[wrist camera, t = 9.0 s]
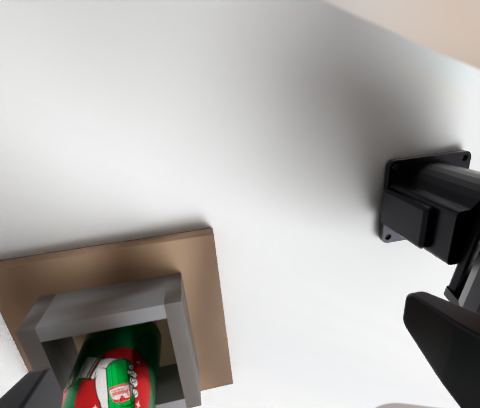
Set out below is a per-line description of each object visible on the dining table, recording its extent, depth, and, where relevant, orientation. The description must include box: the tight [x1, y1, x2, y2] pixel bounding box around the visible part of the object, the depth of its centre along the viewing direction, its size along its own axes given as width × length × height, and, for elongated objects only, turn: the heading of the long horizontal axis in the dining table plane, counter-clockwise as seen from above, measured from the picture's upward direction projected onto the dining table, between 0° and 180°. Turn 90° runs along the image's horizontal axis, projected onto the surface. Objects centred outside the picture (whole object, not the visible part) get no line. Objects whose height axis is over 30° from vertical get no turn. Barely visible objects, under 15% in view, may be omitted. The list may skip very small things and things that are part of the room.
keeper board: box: [0, 228, 233, 408], centre depth 20 cm, size 14×14×4 cm
